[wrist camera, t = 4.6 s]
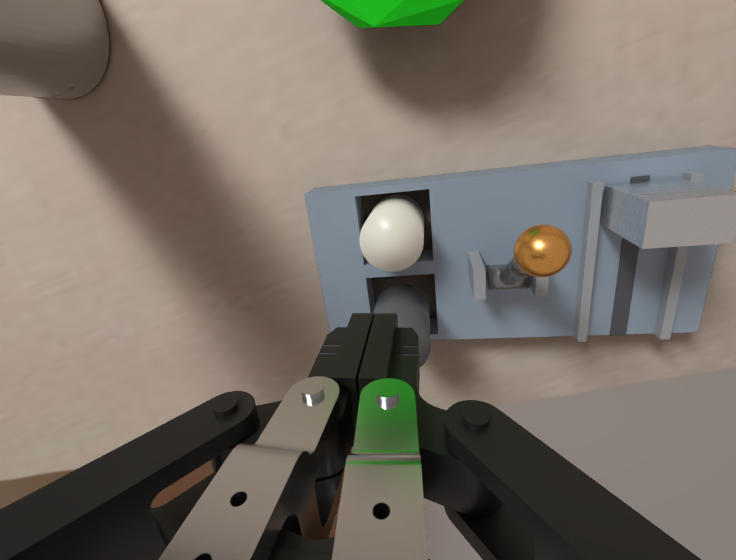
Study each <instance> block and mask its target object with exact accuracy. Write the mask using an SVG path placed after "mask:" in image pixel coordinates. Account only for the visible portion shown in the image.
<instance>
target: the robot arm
mask: <svg viewBox="0 0 736 560" xmlns="http://www.w3.org/2000/svg"><path fill="white" fill-rule="evenodd" d="M108 57H109V34H108V28H107V23H106V19H105V16H104V13H103V10H102V7H101V4H100V2H99V0H0V95H9V96H28V97H35V98H63V99H64V98H77V97H80V96H83V95H86V94H87V93H88V92H90V91H91V90H93V89H94V88H95V87H96V86H97V84H98V83H99V82H100V80H101V79H102V77H103V74H104V72H105V70H106V67H107V62H108ZM419 377H420V372H419V336H418V335H417V333H416V332H415V330H414V329H413V328H400V327H398V316H397V313H375V314H374V313H352V315H351V317H350V320H349V323H348V325H347V327H337V328H335V329H334V330H333V331H332V332H331V333H329V334H328V335H327V337H326V339H325V341H324V343H323V346H322V348H321V350H320V352H319V354H318V357H317V359H316V361H315V363H314V365H313V367H312V370H311V372H310V374H309V376H308V378H306V379H303V380H300V381H299V382H297V383H295V384H294V385H293V386H292V387H291V388H290V389H289V390H288V392H287V393H286V395H285V397H284V398H283V400H281V401H278V402H273V403H268V404H263V405H258V406H256V404H255V400H254V398H253V396H252V395H250V394H249V393H247V392H243V391H232V392H227V393H224V394H221V395H218V396H216V397H214V398H212V399H210V400H208V401H207V402H205V403H203V404H201V405H199V406H197V407H195V408H193V409H191V410H189V411H187V412H186V413H184V414H182V415H180V416H178V417H176V418H174V419H172V420H170V421H168V422H166V423H165V424H163V425H161V426H159V427H157V428H155V429H153V430H151V431H149V432H147V433H145V434H144V435H142V436H140V437H138V438H136V439H134V440H132V441H130V442H128V443H126V444H124V445H123V446H121V447H119V448H117V449H115V450H113V451H111V452H109V453H107V454H105V455H103V456H101V457H100V458H98V459H96V460H94V461H92V462H90V463H88V464H86V465H84V466H82V467H80V468H79V469H77V470H75V471H73V472H71V473H69V474H67V475H65V476H63V477H62V478H60V479H58V480H56V481H54V482H52V483H50V484H48V485H46V486H44V487H42V488H41V489H38V490H37V491H35V492H33V493H31V494H29V495H27V496H25V497H23V498H21V499H20V500H17V501H16V502H14V503H12V504H10V505H8V506H6V507H4V508H3V509H0V560H430V559H428V548H427V536H426V521H425V508H424V498H426V499H428V500H431V501H433V502H436V503H438V504H440V505H443V506H444V508H445V511H446V514H447V515H448V517H449V519H450V520H451V522H452V523H453V524H454V525H455V526H456V528H457V529H458V530H459V531H460V532H461V534H462V535H463V536H464V537H465V539H466V540H467V541H468V542H469V543H470V545H471V546H472V547H473V548H474V549H475V551H476V552H477V553H478V554H479V555H480V557H481V558H482V559H483V560H701V559H700V558H698V557H697V556H696V555H694V554H693V553H692V552H690V551H689V550H688V549H686V548H685V547H684V546H682V545H681V544H679V543H678V542H677V541H675V540H674V539H673V538H671V537H670V536H669V535H667V534H666V533H665V532H663V531H662V530H661V529H659V528H658V527H657V526H655V525H654V524H652V523H651V522H650V521H648V520H647V519H646V518H644V517H643V516H642V515H640V514H639V513H638V512H636V511H635V510H634V509H632V508H631V507H630V506H628V505H627V504H625V503H624V502H623V501H621V500H620V499H619V498H617V497H616V496H615V495H613V494H612V493H611V492H609V491H608V490H606V489H605V488H604V487H603V486H601V485H600V484H598V483H597V482H596V481H595V480H593V479H592V478H590V477H589V476H588V475H586V474H585V473H584V472H582V471H581V470H580V469H578V468H577V467H576V466H574V465H573V464H572V463H570V462H569V461H567V460H566V459H565V458H564V457H562V456H561V455H559V454H558V453H557V452H555V451H554V450H553V449H551V448H550V447H549V446H547V445H546V444H545V443H543V442H542V441H541V440H539V439H538V438H536V437H535V436H534V435H532V434H531V433H530V432H528V431H527V430H526V429H524V428H523V427H522V426H520V425H519V424H517V423H516V422H515V421H514V420H512V419H511V418H509V417H508V416H507V415H505V414H504V413H503V412H501V411H500V410H499V409H497V408H496V407H494V406H492V405H490V404H488V403H485V402H482V401H476V400H466V401H461V402H458V403H455V404H453V405H452V406H451V407H450V408H448V410H443V409H440V408H437V407H434V406H432V405H430V404H429V403H427V402H426V401H424V400H423V399H422V398H421V396H420V395H419ZM352 447H353V454H350V453H351V448H352ZM209 460H210V461H211V464H212V467H213V471H214V473H213V474H211V475H209V476H208V477H206V478H205V479H203V480H202V481H201V482H199V483H197V484H196V485H194V486H193V487H191V488H189V489H188V490H186V491H185V492H184V493H182V494H180V495H179V496H178V497H176V498H174V499H173V500H171V501H170V502H168V503H167V504H165V505H163V506H161V507H157V508H152V507H150V506H151V503H152V501H153V499H154V498H155V497H156V495H157V494H158V493H159V492H161V491H162V490H163V489H165V488H166V487H168V486H169V485H171V484H173V483H174V482H176V481H178V480H179V479H181V478H182V477H184V476H186V475H187V474H188V473H190V472H192V471H194V470H195V469H197V468H198V467H200V466H202V465H203V464H205V463H206V462H208V461H209ZM339 503H340V507H339ZM338 507H339V513H338V520H337V527H336V534H335V537H334V538H329V536H330V533H331V530H332V526H333V523H334V520H335V516H336V513H337V510H338Z"/></svg>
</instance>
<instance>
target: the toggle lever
mask: <svg viewBox="0 0 736 560" xmlns="http://www.w3.org/2000/svg"><path fill="white" fill-rule="evenodd" d="M571 255H572V246H571V242H570V240H569V238H568V236H567V235H566V234H565V232H563V231H562V230H561V229H559V228H557V227H555V226H552V225H547V224H540V225H535V226H532V227H530V228H528V229H526V230H525V231H523V232H522V233H521V234H520V235H519V237H518V238H517V240H516V242H515V245H514V258H512V259H511V260H510V261H509V262H508V263H507V264H501V265H487V266H486V285H487V289H488V291H490V290H509V289H528V288H530V284H531V276H534V277H549V276H553V275H555V274H557V273H559V272H560V271H562V270H563V269H564V268H565V267H566V266H567V264H568V262H569V261H570V258H571Z"/></svg>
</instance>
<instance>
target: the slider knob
mask: <svg viewBox="0 0 736 560" xmlns="http://www.w3.org/2000/svg"><path fill="white" fill-rule="evenodd" d="M601 224H602V225H603V226H605V227H607V228H608V229H610V230H612V231H613V232H615V233H617V234H618V235H620V236H622V237H623V238H625V239H626V240H628V241H630V242H631V243H633V244H635V245H636V246H638V247H640V248H641V249H650V248H665V247H680V246H695V245H710V244H725V243H733V241H734V237H735V233H736V191H732V190H727V189H723V188H719V187H715V186H710V185H706V184H702V183H698V182H693V181H689V180H685V179H680V178H678V179H668V180H657V181H647V182H636V183H626V184H615V185H605V192H604V201H603V210H602V219H601Z"/></svg>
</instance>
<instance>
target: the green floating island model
mask: <svg viewBox="0 0 736 560" xmlns="http://www.w3.org/2000/svg"><path fill="white" fill-rule="evenodd" d="M321 1H322V2H324V3H325V4H326V5H328V6H329V7H331V8H332V9H333V10H335V11H336V12H337V13H339V14H340V15H341V16H343V17H344V18H346V19H347V20H348V21H350V22H351V23H352V24H354V25H355V26H356V27H358V28H374V27H396V26H417V25H438V24H441V23H442V22H443V21H444V20H445V19H446V18H447V17H448V16H449V15H450V14H451V13H452V12H453V11H454V10H455V9H456V8H457V7H458V6H459V5H460V4H461V3H462V2H463V1H464V0H321Z"/></svg>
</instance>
